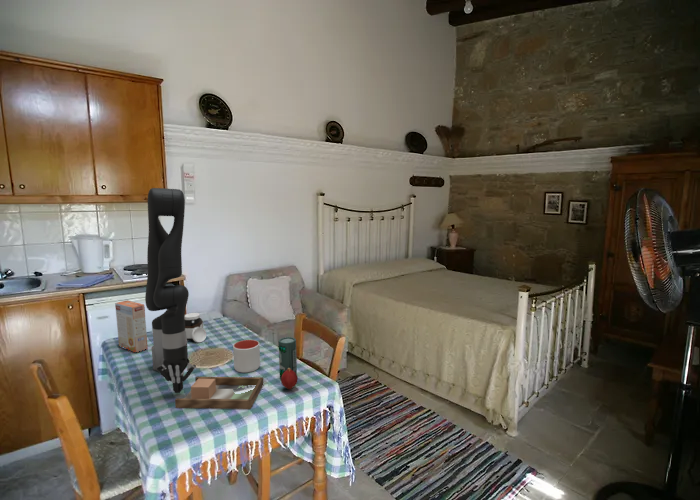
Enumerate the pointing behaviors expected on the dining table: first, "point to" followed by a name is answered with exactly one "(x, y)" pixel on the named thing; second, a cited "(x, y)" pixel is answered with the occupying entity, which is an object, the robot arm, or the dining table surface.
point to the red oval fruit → (289, 379)
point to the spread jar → (194, 327)
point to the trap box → (225, 394)
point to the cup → (246, 356)
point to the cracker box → (131, 325)
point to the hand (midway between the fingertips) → (178, 391)
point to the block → (203, 389)
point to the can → (287, 355)
